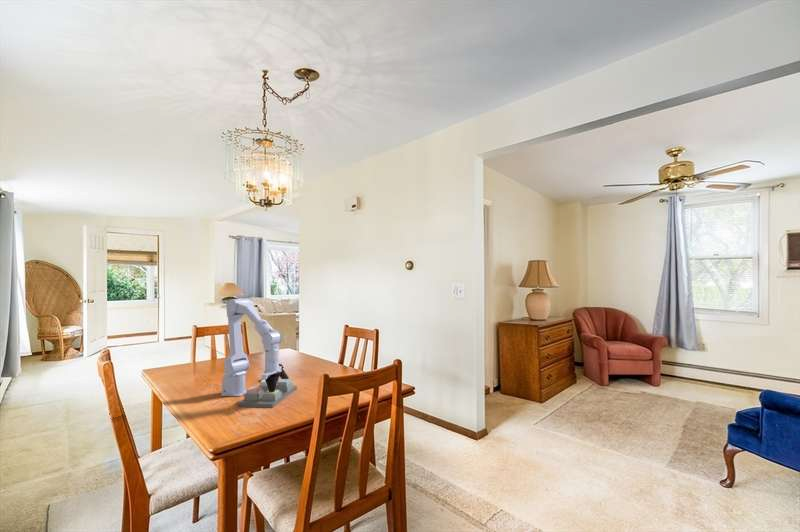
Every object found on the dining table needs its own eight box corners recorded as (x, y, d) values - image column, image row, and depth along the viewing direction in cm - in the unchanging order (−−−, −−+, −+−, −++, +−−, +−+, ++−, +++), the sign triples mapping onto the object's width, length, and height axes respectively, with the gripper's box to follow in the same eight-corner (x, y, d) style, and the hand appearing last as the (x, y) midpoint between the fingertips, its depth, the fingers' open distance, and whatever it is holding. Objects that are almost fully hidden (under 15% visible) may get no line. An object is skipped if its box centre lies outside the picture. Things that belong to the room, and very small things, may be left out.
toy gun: (288, 378, 189) (277, 361, 190) (270, 392, 190) (259, 376, 192) (290, 376, 191) (280, 360, 192) (272, 390, 193) (262, 374, 194)
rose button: (246, 395, 158) (246, 389, 158) (252, 392, 163) (252, 386, 163) (256, 395, 157) (256, 389, 157) (262, 392, 162) (262, 386, 162)
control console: (238, 406, 154) (238, 397, 154) (267, 387, 179) (267, 380, 179) (272, 407, 152) (272, 398, 152) (296, 388, 177) (296, 380, 177)
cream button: (260, 386, 170) (260, 381, 170) (265, 383, 174) (265, 378, 175) (270, 387, 169) (270, 381, 169) (274, 384, 174) (274, 378, 174)
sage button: (264, 398, 157) (264, 392, 157) (269, 395, 162) (269, 389, 162) (274, 399, 156) (274, 393, 156) (279, 395, 161) (279, 389, 161)
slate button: (277, 387, 169) (277, 381, 169) (281, 384, 173) (281, 379, 174) (286, 387, 168) (286, 382, 168) (290, 384, 173) (290, 379, 173)
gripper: (272, 364, 152) (272, 397, 151) (287, 356, 166) (287, 386, 166) (256, 363, 153) (256, 396, 152) (273, 356, 167) (273, 386, 167)
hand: (271, 391), depth 159 cm, fingers closed, pressing on sage button
